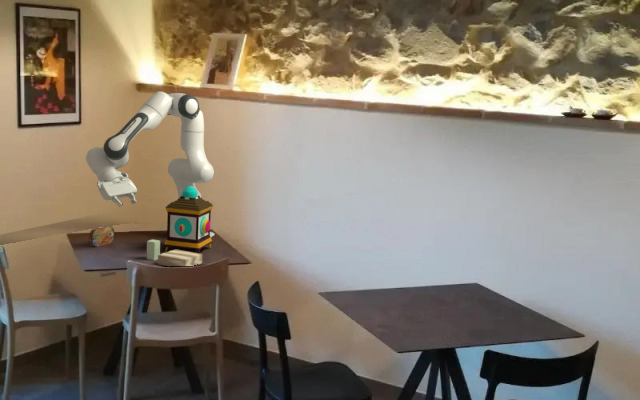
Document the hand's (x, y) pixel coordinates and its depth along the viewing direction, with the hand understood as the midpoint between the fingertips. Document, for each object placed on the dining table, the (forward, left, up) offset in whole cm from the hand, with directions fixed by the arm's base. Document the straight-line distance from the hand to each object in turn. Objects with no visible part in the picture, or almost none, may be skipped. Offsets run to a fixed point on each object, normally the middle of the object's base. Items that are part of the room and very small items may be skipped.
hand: (128, 204), depth 339 cm
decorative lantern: (-23, +17, -23) cm, 37 cm away
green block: (0, +14, -22) cm, 26 cm away
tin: (-7, -20, -23) cm, 31 cm away
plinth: (0, +28, -22) cm, 36 cm away
